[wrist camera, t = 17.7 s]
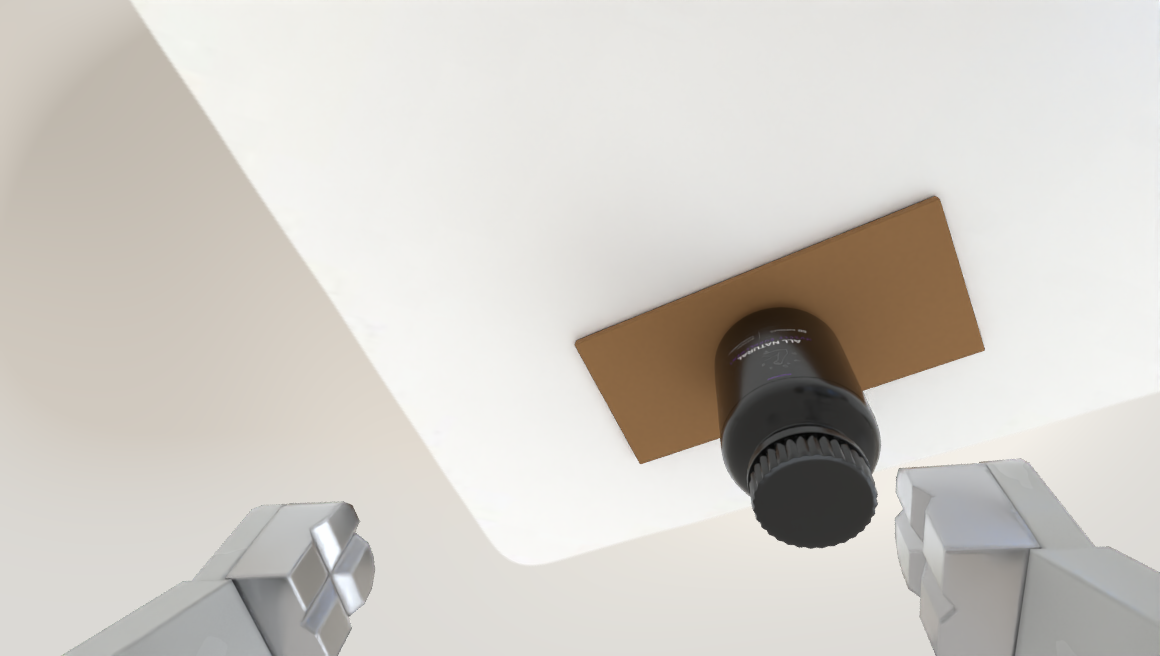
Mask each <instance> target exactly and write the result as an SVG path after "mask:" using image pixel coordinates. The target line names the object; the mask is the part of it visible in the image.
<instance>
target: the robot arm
mask: <svg viewBox="0 0 1160 656" xmlns="http://www.w3.org/2000/svg"><path fill="white" fill-rule="evenodd" d="M896 478H897V479H896V494H897V496H898V498H899V501H900V503H901V505H902V507H903V510H902V511H901V512H900V513H899V514H898V516H897V517H896V518H895V539H896V546H897V553H898V559H899V563H900V566H901V569H902V573H903V575H904V578H905V581H906V583H907V586H908V589H910V590H911V591H912V592H914V593H915V594H916V595H918V596H919V597H920V618H921V621H922V623H923V626H924V628H925V631H926V633H927V635H928V638H929V640H930V643H931V645H932V648H933V650H934V653H935V655H936V656H1160V572H1158V571H1156V570H1154V569H1152V568H1150V567H1148V566H1146V565H1144V564H1143V563H1140V562H1139V561H1137V560H1135V559H1133V558H1131V557H1129V556H1127V555H1125V554H1123V553H1121V552H1119V551H1117V550H1115V549H1113V548H1111V547H1095V545H1094V544H1093V543H1092V542H1091V541H1090V539H1089V538H1088V537H1087V535H1086V534H1085V533H1084V532H1083V530H1082V529H1081V528H1080V527H1079V525H1078V524H1077V523H1076V521H1075V520H1074V519H1073V518H1072V516H1071V515H1070V514H1069V513H1068V511H1067V510H1066V509H1065V507H1064V506H1063V505H1062V504H1061V503H1060V501H1059V500H1058V499H1057V497H1056V496H1055V495H1054V494H1053V492H1052V491H1051V490H1050V489H1049V487H1048V486H1047V485H1046V483H1045V482H1044V481H1043V480H1042V479H1041V478H1040V476H1039V475H1038V473H1037V472H1036V471H1035V470H1034V468H1033V467H1032V466H1031V464H1030V463H1029V462H1027V461H1025V460H1023V459H1010V460H997V461H986V462H979V463H978V464H977V463H973V464H958V465H943V466H927V467H912V468H899V470H898V474H897V477H896ZM358 524H359V519H358V516H357V514H356V512H355V510H354V508H353V506H352V505H351V504H348V503H345V502H320V503H290V504H276V505H261V506H259V507H256V508H254V509H252V510H251V511H250V512H249V514H247V516H246V517H245V518H244V519H243V520H242V522H241V523H240V524H239V525H238V526H237V528H236V529H235V530H234V531H233V532H232V533H231V535H230V536H229V537H228V538H227V540H226V541H225V542H224V543H223V544H222V545H221V547H220V548H219V549H218V550H217V551H216V552H215V554H214V555H213V556H212V557H211V558H210V560H209V561H208V562H207V563H206V565H205V566H204V567H203V568H202V569H201V570H200V571H199V573H198V574H197V575H196V576H195V577H194V579H193V580H192V581H183V582H181V583H179V584H178V585H176V586H174V587H173V588H171V589H169V590H168V591H166V592H164V593H163V594H161V595H160V596H158V597H156V598H155V599H153V600H151V601H150V602H148V603H147V604H145V605H143V606H142V607H140V608H138V609H137V610H135V611H133V612H132V613H130V614H129V615H127V616H125V617H124V618H122V619H120V620H119V621H117V622H116V623H114V624H112V625H111V626H109V627H108V628H106V629H104V630H102V631H101V632H99V633H98V634H96V635H94V636H93V637H91V638H89V639H88V640H86V641H85V642H83V643H81V644H80V645H78V646H76V647H75V648H73V649H71V650H70V651H68V652H67V653H65V654H63V655H62V656H338V654H339V652H340V650H341V648H342V646H343V644H344V643H345V641H346V639H347V637H348V635H349V633H350V631H351V629H352V627H351V623H350V619H349V616H350V615H351V614H353V613H354V612H355V611H356V610H358V609H359V608H360V607H361V606H363V605H364V604H365V602H366V600H367V598H368V596H369V594H370V591H371V589H372V585H373V579H374V573H375V566H374V557H373V553H372V551H371V548H370V545H369V543H368V542H367V541H365V540H364V539H363V538H362V537H360V536H359V535H358V534H357V533H355V532H356V529H357V527H358Z"/></svg>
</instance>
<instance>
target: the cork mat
mask: <svg viewBox="0 0 1160 656" xmlns="http://www.w3.org/2000/svg"><path fill="white" fill-rule="evenodd" d="M773 307H788V308H795V309H799V310H803V311H806V312H808V313H810V314H812V315H814V316H816V317H818V318H819V319H821V320H822V321H823V322H825V323H826V324H827V325H828V326H829V327H830V328H831V330H832V331H833V332H834V334H835V335H836V337H837V338H838V340H839V342H840V344H841V346H842V348H843V350H844V352H845V354H846V357H847V359H848V361H849V363H850V365H851V367H852V369H853V372H854V374H855V376H856V378H857V380H858V382H859V384H860V387H861V389H862V391H864V390H867V389H870V388H873V387H876V386H879V385H882V384H885V383H888V382H891V381H894V380H897V379H900V378H903V377H906V376H909V375H912V374H915V373H918V372H921V371H924V370H927V369H930V368H933V367H936V366H939V365H942V364H945V363H948V362H951V361H954V360H957V359H960V358H963V357H966V356H969V355H972V354H975V353H978V352H981V351H984V350H985V348H984V345H983V342H982V338H981V335H980V332H979V328H978V325H977V322H976V318H975V315H974V312H973V308H972V305H971V302H970V298H969V295H968V292H967V288H966V285H965V281H964V278H963V275H962V271H961V268H960V265H959V261H958V258H957V255H956V251H955V248H954V245H953V241H952V238H951V235H950V231H949V228H948V225H947V221H946V218H945V215H944V211H943V208H942V204H941V201H940V199H939V198H938V197H936V196H934V197H931V198H929V199H926V200H924V201H922V202H919V203H917V204H914V205H912V206H909V207H907V208H904V209H902V210H899V211H897V212H894V213H892V214H889V215H887V216H884V217H882V218H879V219H877V220H874V221H872V222H869V223H867V224H864V225H862V226H859V227H857V228H855V229H852V230H850V231H847V232H845V233H842V234H840V235H837V236H835V237H832V238H830V239H827V240H825V241H822V242H820V243H817V244H815V245H812V246H810V247H807V248H805V249H802V250H800V251H797V252H795V253H792V254H790V255H787V256H785V257H783V258H780V259H778V260H775V261H773V262H770V263H768V264H765V265H763V266H760V267H758V268H755V269H753V270H750V271H748V272H745V273H743V274H740V275H738V276H735V277H733V278H730V279H728V280H725V281H723V282H720V283H718V284H715V285H713V286H711V287H708V288H706V289H703V290H701V291H698V292H696V293H693V294H691V295H688V296H686V297H683V298H681V299H678V300H676V301H673V302H671V303H668V304H666V305H663V306H661V307H658V308H656V309H653V310H651V311H648V312H646V313H644V314H641V315H639V316H636V317H634V318H631V319H629V320H626V321H624V322H621V323H619V324H616V325H614V326H611V327H609V328H606V329H604V330H601V331H599V332H596V333H594V334H591V335H589V336H586V337H584V338H581V339H579V340H576V342H575V347H576V348H577V350H578V352H579V354H580V356H581V358H582V359H583V361H584V363H585V365H586V367H587V368H588V370H589V372H590V374H591V376H592V378H593V379H594V381H595V383H596V385H597V387H598V388H599V390H600V392H601V394H602V396H603V398H604V399H605V401H606V403H607V405H608V407H609V408H610V410H611V412H612V414H613V416H614V418H615V419H616V421H617V423H618V425H619V427H620V428H621V430H622V432H623V434H624V436H625V438H626V439H627V441H628V443H629V445H630V447H631V448H632V450H633V452H634V454H635V456H636V458H637V459H638V461H639V463H640V464H643V463H646V462H649V461H652V460H655V459H658V458H661V457H664V456H667V455H670V454H673V453H676V452H679V451H682V450H685V449H688V448H691V447H694V446H697V445H700V444H703V443H706V442H709V441H712V440H715V439H718V438H720V431H719V419H718V408H717V396H716V385H715V369H714V364H715V355H716V351H717V348H718V346H719V343H720V341H721V340H722V338H723V336H724V335H725V333H726V332H727V331H728V330H729V329H730V328H731V327H732V326H733V325H734V324H735V323H736V322H737V321H739V320H740V319H742V318H743V317H745V316H747V315H749V314H751V313H753V312H756V311H759V310H763V309H767V308H773Z"/></svg>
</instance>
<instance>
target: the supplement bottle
mask: <svg viewBox="0 0 1160 656" xmlns="http://www.w3.org/2000/svg"><path fill="white" fill-rule="evenodd" d="M714 369H715V385H716V396H717V408H718V419H719V431H720V442H721V450H722V456H723V460H724V463H725V466H726V469H727V471H728V473H729V474H730V476H731V478H732V479H733V480H734V482H735V483H736V484H737V485H738V486H739V487H740V488H741V489H742V490H743V491H744V492H745V493H746V494H748V495H749V496H750V497H751V503H752V509H753V511H754V512H755V517H756V519H757V520H758V521H759V522H760V523H761V527H762V528H763V529H765V530H767V532H768V534H769V535H772V536H774V537H775V538H776V539H777V540H779V541H783V542H785V543H786V544H788V545H795V546H797V547H807V548H810V549H811V548H816V547H817V548H824V547H827V546H835V545H837V544H839V543H845V542H846V541H848V540H849V539H851V538H854V537H856V536H857V534H858V533H859V532H861V531H863V530H864V529H865V526H866V525H868V524H869V523H870V522H871V517H872V516H874V514H875V508H876V506H877V505H878V503H877V499H876V498H877V495H878V494H877V490H876V488H875V482H874V480H873V477H872V473H873V472H874V469H875V467H876V465H877V462H878V459H879V455H880V448H881V439H880V432H879V428H878V425H877V422H876V419H875V417H874V414H873V412H872V410H871V408H870V406H869V404H868V402H867V399H866V397H865V395H864V393H863V391H862V389H861V387H860V384H859V382H858V380H857V378H856V376H855V374H854V372H853V369H852V367H851V365H850V363H849V361H848V359H847V357H846V354H845V352H844V350H843V348H842V346H841V344H840V342H839V340H838V338H837V337H836V335H835V334H834V332H833V331H832V330H831V328H830V327H829V326H828V325H827V324H826V323H825V322H823V321H822V320H821V319H819V318H818V317H816V316H814V315H812V314H810V313H808V312H806V311H803V310H799V309H795V308H788V307H773V308H767V309H763V310H759V311H756V312H753V313H751V314H749V315H747V316H745V317H743V318H742V319H740V320H739V321H737V322H736V323H735V324H734V325H733V326H732V327H731V328H730V329H729V330H728V331H727V332H726V333H725V335H724V336H723V338H722V340H721V341H720V343H719V346H718V348H717V351H716V355H715V364H714Z"/></svg>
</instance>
